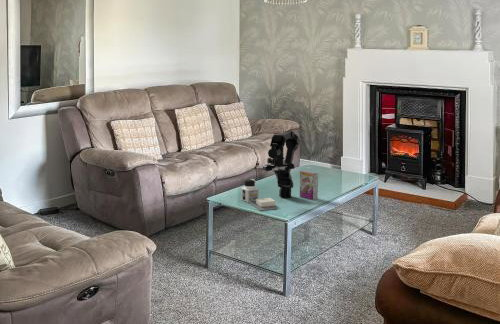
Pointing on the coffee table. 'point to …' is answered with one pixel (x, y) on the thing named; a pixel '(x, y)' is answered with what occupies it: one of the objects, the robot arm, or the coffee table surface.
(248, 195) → the container
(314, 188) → the candy bar box
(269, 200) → the cream rectangular block
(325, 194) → the coffee table surface
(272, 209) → the mat
